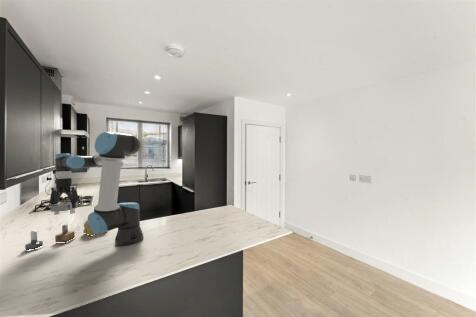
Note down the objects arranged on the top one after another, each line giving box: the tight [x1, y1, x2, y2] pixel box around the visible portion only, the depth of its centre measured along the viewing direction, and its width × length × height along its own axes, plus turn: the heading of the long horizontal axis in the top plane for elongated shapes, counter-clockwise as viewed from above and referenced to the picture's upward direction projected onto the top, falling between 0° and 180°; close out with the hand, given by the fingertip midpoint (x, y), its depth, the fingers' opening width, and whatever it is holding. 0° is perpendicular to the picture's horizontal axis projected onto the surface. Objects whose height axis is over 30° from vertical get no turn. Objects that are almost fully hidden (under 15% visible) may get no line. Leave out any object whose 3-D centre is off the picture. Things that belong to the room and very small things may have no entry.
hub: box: [24, 230, 44, 250], centre depth 112 cm, size 7×7×10 cm
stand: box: [54, 224, 76, 243], centre depth 121 cm, size 6×6×10 cm
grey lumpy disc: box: [49, 201, 79, 213], centre depth 122 cm, size 9×9×4 cm
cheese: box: [83, 220, 96, 235], centre depth 135 cm, size 10×11×10 cm
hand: (64, 213), depth 122 cm, fingers closed on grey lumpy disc, 9 cm apart
